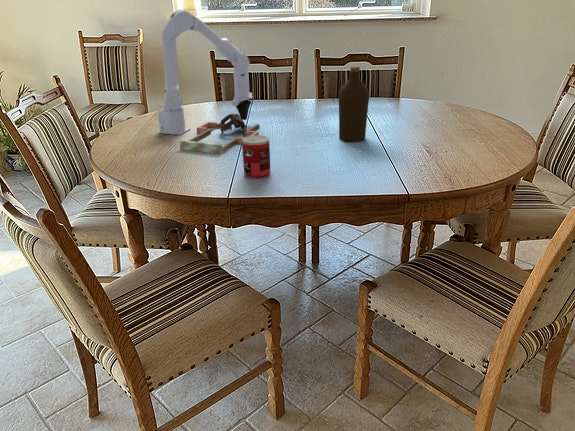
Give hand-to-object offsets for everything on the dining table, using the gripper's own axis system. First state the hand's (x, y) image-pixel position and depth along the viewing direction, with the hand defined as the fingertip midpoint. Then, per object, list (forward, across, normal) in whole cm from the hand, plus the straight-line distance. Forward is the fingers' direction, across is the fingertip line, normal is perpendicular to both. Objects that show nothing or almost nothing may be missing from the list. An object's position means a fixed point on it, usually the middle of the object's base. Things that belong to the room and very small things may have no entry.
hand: (243, 119), depth 194 cm
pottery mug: (+2, -11, -1) cm, 11 cm away
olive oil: (+2, -6, -46) cm, 46 cm away
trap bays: (+2, -15, 0) cm, 15 cm away
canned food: (+2, -49, -27) cm, 56 cm away
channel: (+2, -19, 0) cm, 19 cm away
